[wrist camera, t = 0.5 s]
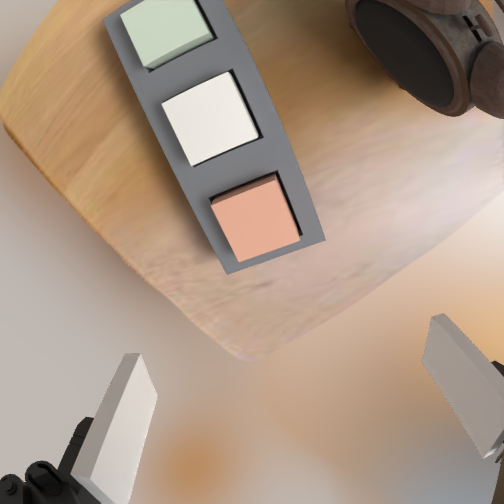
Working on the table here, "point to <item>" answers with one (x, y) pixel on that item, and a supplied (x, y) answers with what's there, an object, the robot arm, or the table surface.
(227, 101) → the key offwhite
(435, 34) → the alarm clock
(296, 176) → the keypad
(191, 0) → the key sage
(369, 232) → the table surface
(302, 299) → the table surface
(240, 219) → the key terracotta
